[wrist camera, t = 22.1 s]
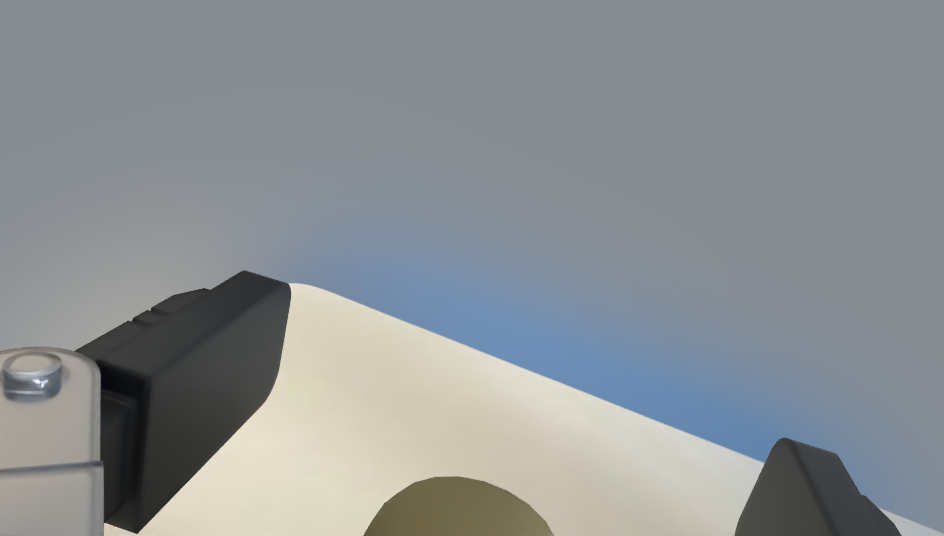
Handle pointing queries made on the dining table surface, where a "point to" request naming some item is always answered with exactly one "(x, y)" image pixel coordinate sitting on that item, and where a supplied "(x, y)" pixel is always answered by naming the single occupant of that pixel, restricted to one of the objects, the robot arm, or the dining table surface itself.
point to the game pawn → (456, 511)
